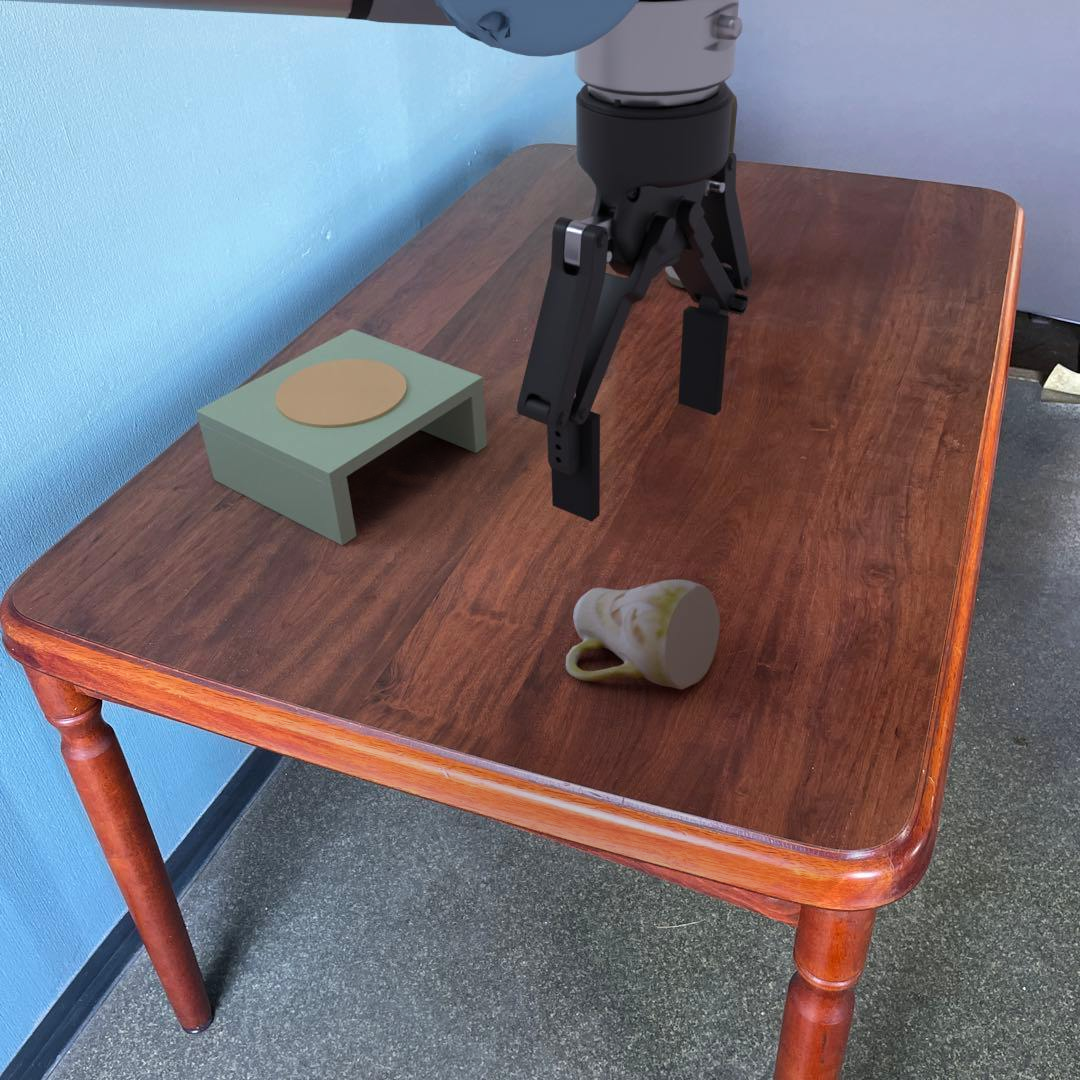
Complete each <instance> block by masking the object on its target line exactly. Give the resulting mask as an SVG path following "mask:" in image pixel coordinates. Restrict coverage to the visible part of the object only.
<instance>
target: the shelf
mask: <svg viewBox="0 0 1080 1080" xmlns="http://www.w3.org/2000/svg"><path fill="white" fill-rule="evenodd" d="M195 412H196V416H197V419H198V423H199V427H200V430H201V435H202V439H203V442H204V446H205V450H206V454H207V457H208V462H209V465H210V468H211V473H212V476H213V480H214V481H215V482H217V483H220V484H221V485H223V486H225V487H227V488H229V489H231V490H233V491H235V492H237V493H239V494H241V495H243V496H245V497H246V498H248V499H250V500H252V501H254V502H257V503H259V504H261V506H264V507H266V508H268V509H270V510H272V511H274V512H276V513H278V514H279V515H282V516H283V517H285V518H287V519H290V520H291V521H293V522H295V523H297V524H299V525H301V526H303V527H305V528H307V529H309V530H311V531H312V532H315V533H317V534H318V535H320V536H322V537H324V538H326V539H329V540H330V541H332V542H334V543H336V544H338V545H340V546H345V545H346V544H347V543H348V542H350V541H352V540H353V539H354V538H356V537H357V531H356V525H355V524H356V523H355V519H354V514H353V513H354V512H353V507H352V502H351V501H352V500H351V495H350V490H349V482H348V476H350V475H352V474H353V473H354V472H356V471H358V470H359V469H361V468H362V467H364V466H366V465H367V464H368V463H370V462H371V461H373V460H375V459H376V458H378V457H379V456H381V455H382V454H384V453H386V452H387V451H389V450H390V449H392V448H393V447H395V446H396V445H399V444H400V443H401V442H403V441H405V440H406V439H407V438H409V437H410V436H412V435H413V434H415V433H417V432H418V431H422V432H424V433H427V434H429V435H432V436H434V437H437V438H440V439H441V440H444V441H446V442H449V443H451V444H453V445H456V446H458V447H460V448H463V449H465V450H468V451H470V452H473V453H475V454H477V453H479V452H480V451H482V450H483V449H484V448H486V447H487V446H488V433H487V421H486V420H487V419H486V405H485V392H484V377H483V376H481V375H479V374H476V373H474V372H471V371H468V370H465V369H462V368H460V367H458V366H454V365H452V364H449V363H446V362H444V361H441V360H438V359H436V358H433V357H430V356H427V355H424V354H421V353H419V352H416V351H414V350H411V349H408V348H405V347H403V346H400V345H397V344H395V343H392V342H389V341H386V340H384V339H381V338H378V337H375V336H373V335H371V334H368V333H364V332H362V331H359V330H356V329H353V328H350V329H349V330H347V331H345V332H343V333H341V334H339V335H338V336H335V337H333V338H332V339H329V340H327V341H326V342H324V343H322V344H321V345H319V346H316V347H315V348H313V349H311V350H309V351H307V352H305V353H303V354H301V355H299V356H297V357H295V358H293V359H292V360H290V361H288V362H286V363H284V364H282V365H280V366H278V367H276V368H274V369H272V370H271V371H269V372H267V373H265V374H263V375H261V376H260V377H257V378H255V379H253V380H252V381H250V382H248V383H246V384H244V385H242V386H240V387H238V388H237V389H235V390H233V391H231V392H228V393H227V394H225V395H223V396H221V397H219V398H218V399H215V400H214V401H212V402H210V403H208V404H205V405H204V406H202V407H200V408H198V409H197V410H196V411H195Z"/></svg>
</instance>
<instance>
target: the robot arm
mask: <svg viewBox="0 0 1080 1080" xmlns="http://www.w3.org/2000/svg"><path fill="white" fill-rule="evenodd" d="M1 1H2V2H3V1H4V2H21V3H23V2H24V3H40V4H41V3H43V4H44V3H45V4H61V5H62V4H65V5H82V6H83V5H84V6H102V7H123V8H141V9H164V10H178V11H179V10H182V11H199V12H200V11H203V12H218V13H219V12H221V13H239V14H241V13H242V14H261V15H280V16H297V17H298V16H300V17H317V18H318V17H320V18H339V19H345V20H346V19H347V20H359V21H368V22H373V23H374V22H375V23H385V24H406V25H423V26H441V27H442V26H443V27H455V28H456V29H457V30H458V31H459V32H460V33H462V34H464V35H465V36H466V37H469V38H470V39H473V40H476V41H478V42H481V43H483V44H484V45H486V46H488V47H490V48H495V49H500V50H502V51H505V52H509V53H511V54H516V55H521V56H525V57H543V58H545V57H546V58H547V57H554V56H555V57H556V56H562V55H565V54H569V53H572V52H574V73H575V75H576V76H577V77H578V79H579V80H580V81H581V82H583V83H584V85H583V86H582V87H581V88H580V90H579V91H578V93H577V94H576V96H575V120H576V121H575V122H576V123H575V125H576V126H575V127H576V131H575V132H576V133H575V135H576V139H575V140H576V160H577V163H578V165H579V167H580V168H581V170H583V171H584V172H585V173H586V174H587V175H588V177H589V178H590V179H591V180H592V183H593V184H594V186H595V197H594V203H593V207H592V210H591V214H590V217H587V218H585V219H581V220H577V219H572V218H570V217H565V216H560V217H558V218H557V219H556V220H555V222H554V225H553V227H552V236H551V237H552V238H551V257H550V258H551V259H550V269H549V273H548V277H547V281H546V285H545V289H544V293H543V298H542V302H541V305H540V310H539V313H538V318H537V321H536V325H535V331H534V334H533V337H532V342H531V345H530V346H531V347H530V350H529V354H528V355H529V356H528V359H527V363H526V366H525V371H524V375H523V379H522V383H521V387H520V391H519V396H518V399H517V404H516V412H517V414H518V415H519V416H523V417H524V418H525V417H526V418H527V419H530V420H533V421H536V422H538V423H541V424H544V425H546V434H547V435H546V439H547V462H548V464H549V468H550V469H551V498H552V499H551V500H552V503H551V504H552V505H551V506H553V507H555V508H558V509H560V510H562V511H564V512H566V513H570V514H572V515H574V516H577V517H579V518H582V519H584V520H586V521H589V522H591V523H592V522H594V521H595V520H596V519H597V518H598V517H599V516H600V513H601V512H600V506H601V505H600V502H601V501H600V499H601V498H600V497H601V495H600V494H601V491H600V490H601V489H600V488H601V484H600V483H601V414H600V413H597V412H595V411H592V409H593V405H594V403H595V401H596V398H597V395H598V393H599V390H600V389H601V385H602V383H603V380H604V379H605V378H604V377H605V375H606V373H607V370H608V368H609V365H610V363H611V360H612V357H613V356H614V353H615V350H616V347H617V345H618V342H619V340H620V337H621V334H622V332H623V330H624V327H625V325H626V322H627V319H628V317H629V314H630V312H631V310H632V307H633V305H634V304H635V303H637V302H640V301H642V300H643V299H644V298H645V296H646V295H647V292H648V290H649V287H650V284H651V282H652V280H653V279H655V278H656V277H657V276H658V275H659V274H660V273H661V272H662V271H663V269H664V268H666V267H669V266H672V268H673V269H674V271H675V273H676V274H677V276H678V277H679V279H680V281H681V282H682V284H683V286H684V287H685V288H684V289H685V291H686V293H687V294H688V295H689V297H690V299H691V300H692V302H694V303H695V304H698V307H696V306H693V305H688V306H687V307H686V308H684V309H683V312H682V330H681V346H680V347H681V349H680V364H679V365H680V366H679V383H678V400H677V403H678V404H679V405H682V406H685V407H688V408H691V409H694V410H697V411H700V412H703V413H706V414H709V415H713V416H716V415H718V414H719V413H720V412H721V411H722V404H723V403H722V402H723V391H724V380H725V369H726V358H727V357H726V356H727V347H728V346H727V345H728V331H729V323H730V321H729V320H730V316H729V313H732V314H735V315H739V316H742V315H744V313H745V312H746V310H747V309H748V303H749V297H748V296H747V295H744V294H740V293H738V292H739V290H740V291H743V292H746V291H747V290H748V289H749V288H750V286H751V285H752V282H753V273H752V267H751V262H750V257H749V251H748V246H747V241H746V235H745V231H744V224H743V220H742V215H741V209H740V204H739V200H738V195H737V186H736V185H737V154H736V153H735V152H734V151H733V152H729V139H730V126H731V113H732V100H733V96H732V93H731V92H730V91H729V89H728V87H729V86H728V85H727V86H728V87H727V86H726V85H725V84H724V83H723V82H727V80H728V79H729V78H730V77H732V75H733V73H734V69H735V57H736V44H737V39H738V38H739V37H740V36H741V35H742V33H743V27H744V26H743V20H742V18H741V17H739V6H740V3H739V2H740V0H1ZM607 264H608V265H609V266H610V268H611V270H613V271H614V272H615V273H616V274H618V275H615V274H612V273H607V272H606V271H607ZM619 275H621V276H619ZM623 276H625V277H623Z"/></svg>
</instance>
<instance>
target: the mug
mask: <svg viewBox="0 0 1080 1080" xmlns="http://www.w3.org/2000/svg"><path fill="white" fill-rule="evenodd" d="M572 619H573V625H574V628H575V630H576V632H577V635H578V637H579V638H580V639H581V640H582V641H581V642H580V643H578V644H576V645H573V646H572V647H571V648H570V650H569V651H568V653H567V654H566V657H565V669H566V671H567V673H568V674H569V675H570V676H572V677H573V678H574V679H577V680H579V681H581V682H582V681H583V682H598V681H606V680H613V679H626V678H627V679H641V678H642V679H645V680H648V681H649V682H651V683H654V684H655V685H659V686H662V687H666V688H667V687H668V688H674V689H677V690H685V689H687V688H690V687H691V686H693V685H695V684H698V683H699V682H700V681H701V680H702V679H703V678H704V676H705V675H706V674H707V673H708V672H709V671H708V670H709V669H710V667H711V665H712V663H713V660H714V659H715V655H716V653H717V648H718V643H719V636H720V629H721V617H720V613H719V609H718V606H717V604H716V599H715V597H714V596H713V594H712V593H711V590H709V589H708V588H707V587H706V586H705V585H703V584H700V583H696V582H694V581H691V580H688V579H681V578H680V579H678V578H677V579H676V578H675V579H671V578H670V579H664V580H659V581H656V582H652V583H647V584H645V585H641V586H638V587H634V588H630V589H611V588H605V587H594V588H592V589H589V590H588V591H587V592H585V593H584V594H583V595H582V596H581V597H580V598H579V599H578V600H577V602H576V604H575V606H574V609H573V613H572ZM604 648H605V649H607V650H609V651H610V652H612V653H614V654H615V655H616V656H617V657H618V658H619V659H621V661H623V663H622V664H620V665H617V666H612V667H607V668H603V669H598V670H584V669H581V668H580V667H578V666H579V665H578V661H579V660H580V657H582V655H583V653H585V652H586V651H590V650H600V649H604Z"/></svg>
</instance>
